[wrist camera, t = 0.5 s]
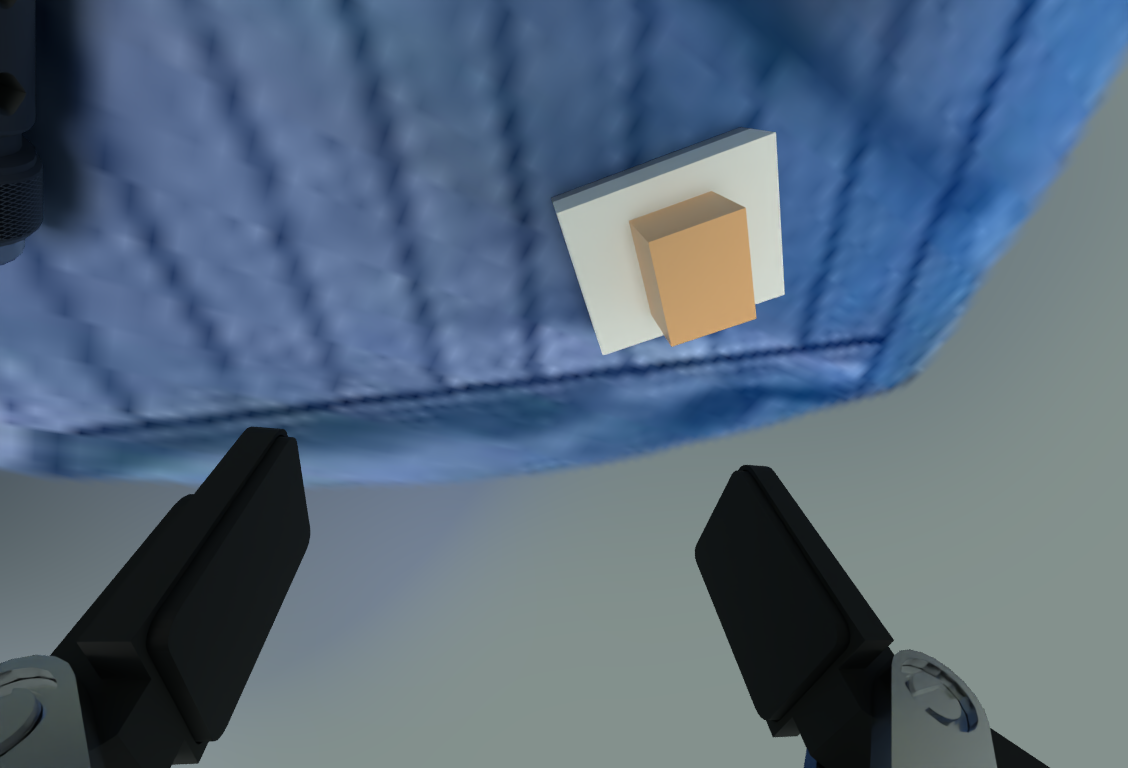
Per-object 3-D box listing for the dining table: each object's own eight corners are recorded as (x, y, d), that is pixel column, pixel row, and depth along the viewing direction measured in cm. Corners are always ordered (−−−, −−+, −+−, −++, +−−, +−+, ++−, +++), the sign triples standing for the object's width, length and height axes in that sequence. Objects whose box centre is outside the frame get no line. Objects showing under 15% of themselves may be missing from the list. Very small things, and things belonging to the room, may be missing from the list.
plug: (694, 182, 31) (745, 207, 24) (707, 273, 35) (756, 318, 28) (618, 209, 32) (648, 242, 25) (640, 297, 36) (671, 346, 29)
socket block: (740, 127, 31) (775, 132, 27) (753, 271, 37) (784, 294, 33) (551, 197, 33) (556, 213, 28) (593, 326, 39) (602, 355, 34)
